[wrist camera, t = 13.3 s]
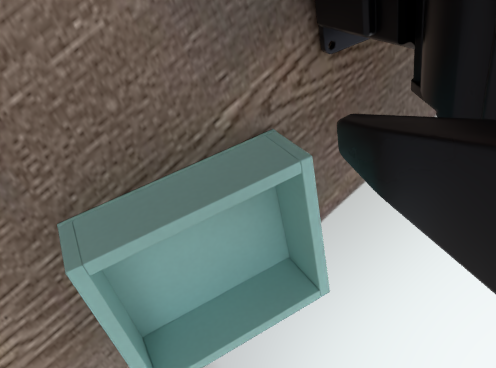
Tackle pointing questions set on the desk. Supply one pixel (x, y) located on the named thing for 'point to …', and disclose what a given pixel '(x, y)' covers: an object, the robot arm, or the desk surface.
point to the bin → (202, 254)
